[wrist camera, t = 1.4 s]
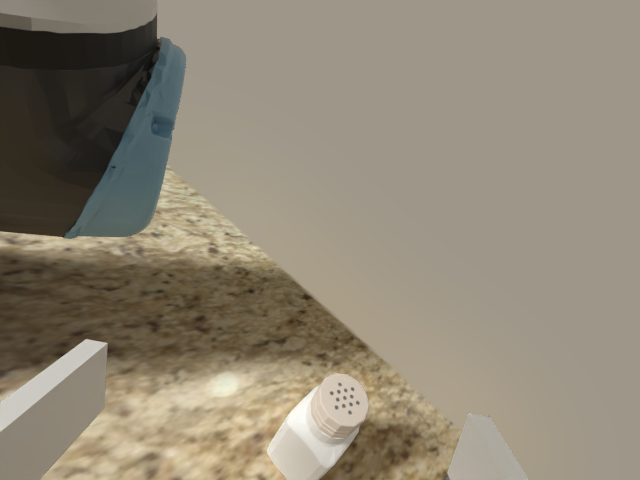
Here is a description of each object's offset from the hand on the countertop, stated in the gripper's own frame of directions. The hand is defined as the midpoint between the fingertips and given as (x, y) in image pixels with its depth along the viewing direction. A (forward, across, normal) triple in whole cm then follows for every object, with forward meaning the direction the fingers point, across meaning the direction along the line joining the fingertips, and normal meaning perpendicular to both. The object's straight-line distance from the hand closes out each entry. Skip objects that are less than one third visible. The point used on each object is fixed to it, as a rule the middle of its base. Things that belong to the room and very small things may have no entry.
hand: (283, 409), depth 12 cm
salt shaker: (+11, +2, -13) cm, 17 cm away
